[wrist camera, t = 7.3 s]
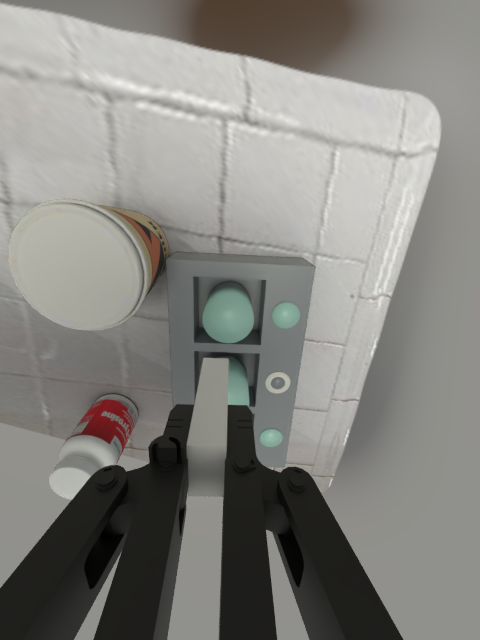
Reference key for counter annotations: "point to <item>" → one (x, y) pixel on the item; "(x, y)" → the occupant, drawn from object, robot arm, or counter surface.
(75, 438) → the pill bottle
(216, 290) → the button
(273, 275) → the board
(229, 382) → the button
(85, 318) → the coffee cup
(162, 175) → the counter surface
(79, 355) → the counter surface
